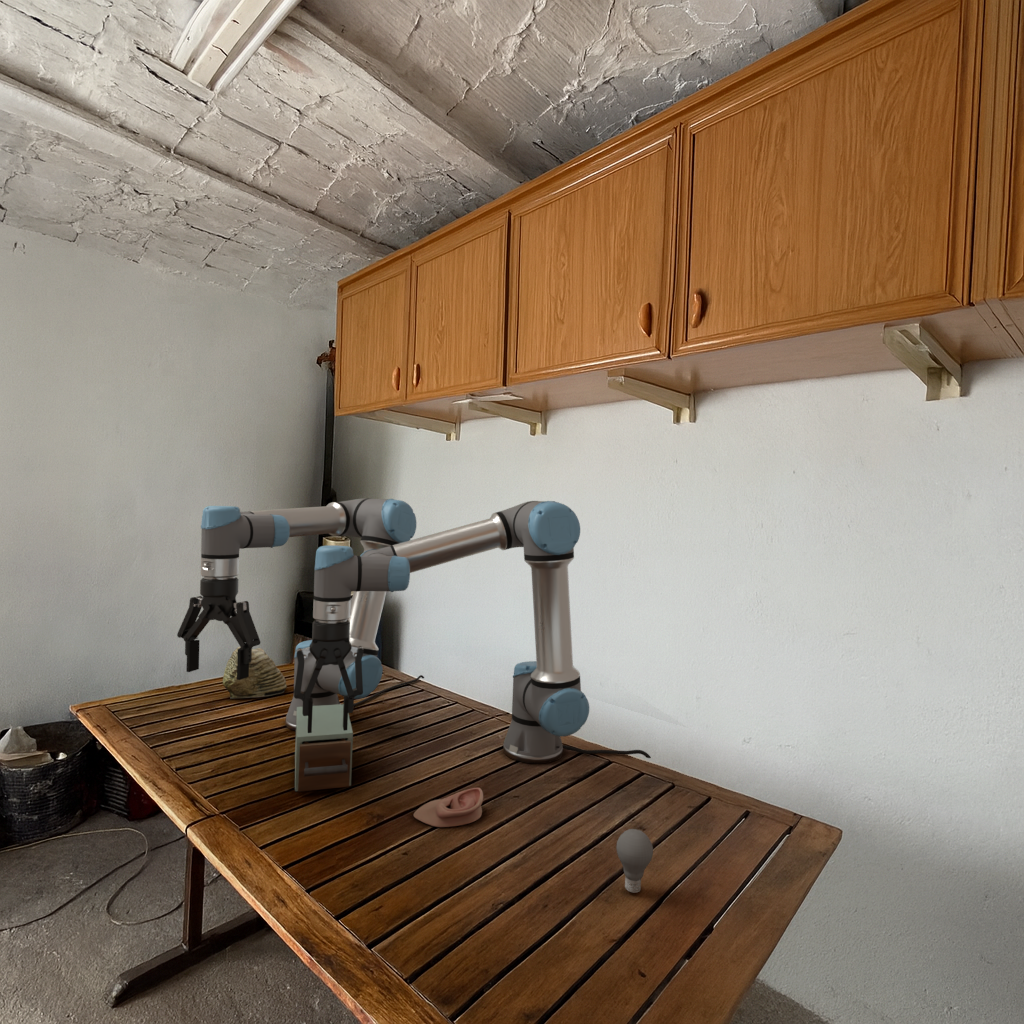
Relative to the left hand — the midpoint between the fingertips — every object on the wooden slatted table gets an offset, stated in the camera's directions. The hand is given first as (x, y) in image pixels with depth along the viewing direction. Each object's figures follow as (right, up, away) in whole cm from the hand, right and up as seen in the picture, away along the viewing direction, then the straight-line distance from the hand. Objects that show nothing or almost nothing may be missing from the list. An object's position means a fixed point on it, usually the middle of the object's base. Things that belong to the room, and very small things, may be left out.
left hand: (217, 674), depth 138 cm
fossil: (-16, -22, +60) cm, 66 cm away
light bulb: (+84, -28, -32) cm, 94 cm away
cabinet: (+20, -24, +9) cm, 33 cm away
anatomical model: (+51, -26, -9) cm, 58 cm away
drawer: (+22, -24, +4) cm, 32 cm away
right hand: (+25, -10, -5) cm, 28 cm away
